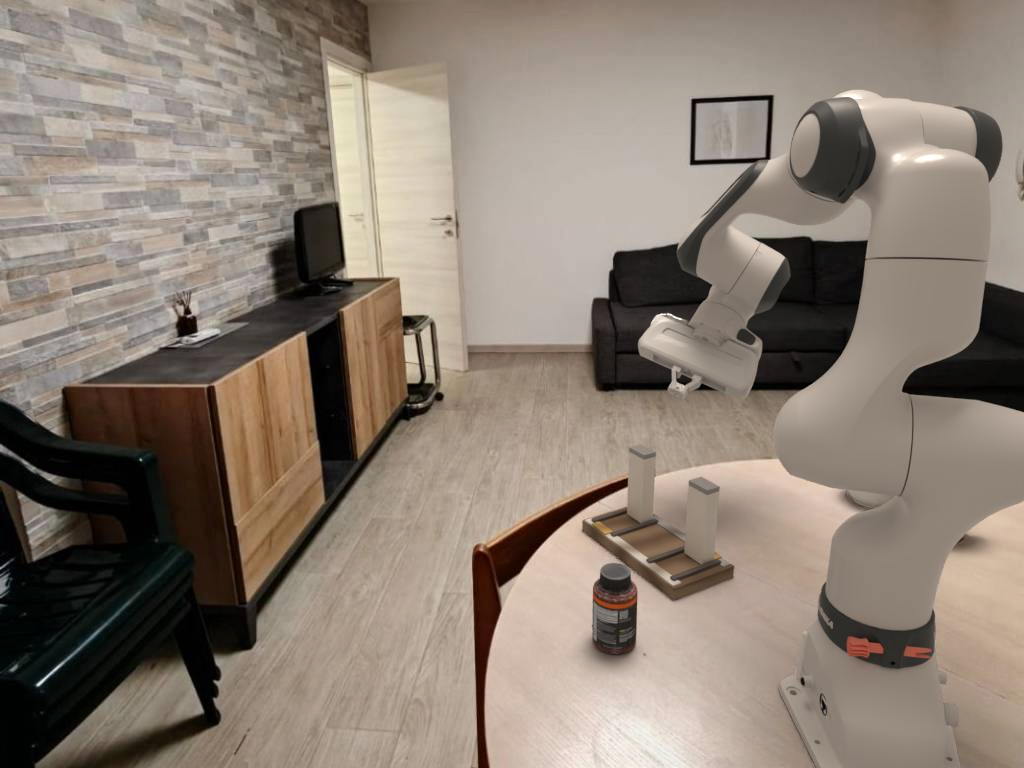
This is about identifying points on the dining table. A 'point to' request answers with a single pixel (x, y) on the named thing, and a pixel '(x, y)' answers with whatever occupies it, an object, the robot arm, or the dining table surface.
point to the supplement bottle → (614, 610)
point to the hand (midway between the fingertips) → (675, 394)
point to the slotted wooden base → (656, 552)
